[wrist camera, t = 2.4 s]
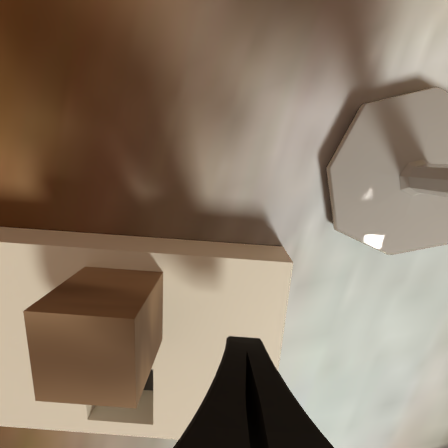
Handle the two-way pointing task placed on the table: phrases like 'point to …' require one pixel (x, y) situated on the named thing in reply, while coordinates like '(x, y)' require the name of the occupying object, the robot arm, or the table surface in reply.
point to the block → (96, 337)
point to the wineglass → (394, 173)
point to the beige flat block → (172, 321)
